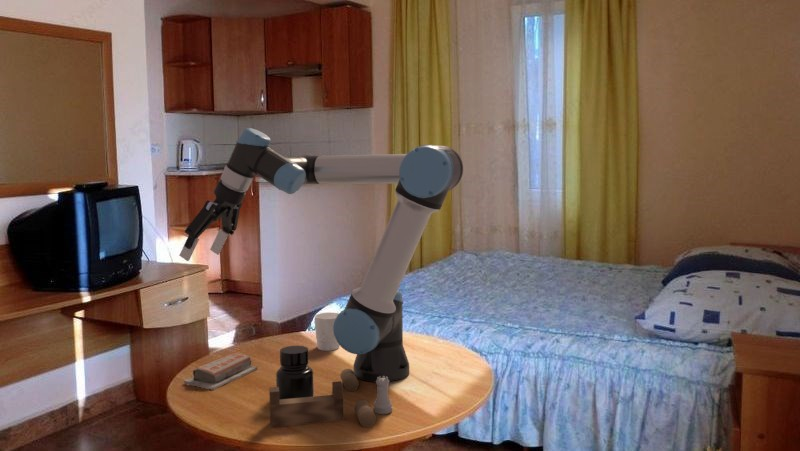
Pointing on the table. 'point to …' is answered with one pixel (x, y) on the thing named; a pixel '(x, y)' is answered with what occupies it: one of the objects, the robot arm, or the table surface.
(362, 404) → the roller
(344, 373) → the roller
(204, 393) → the table surface
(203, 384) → the packaged product
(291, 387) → the ink bottle
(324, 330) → the white cup
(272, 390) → the rail
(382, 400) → the rook chess piece
